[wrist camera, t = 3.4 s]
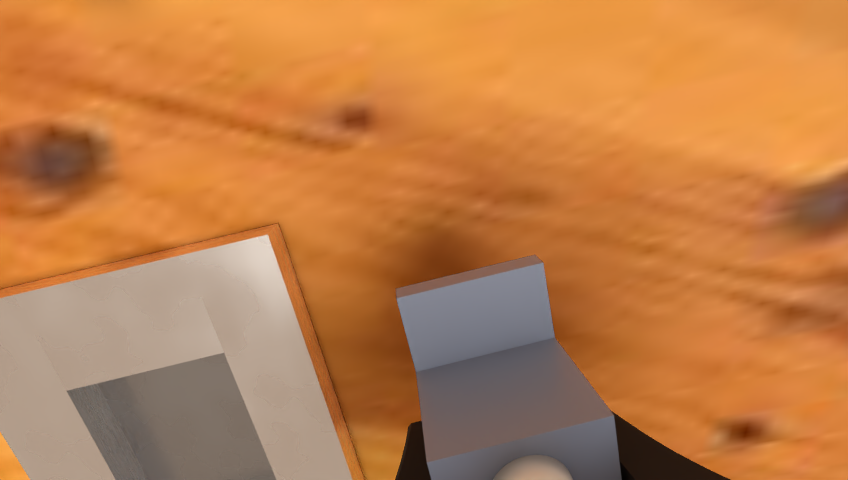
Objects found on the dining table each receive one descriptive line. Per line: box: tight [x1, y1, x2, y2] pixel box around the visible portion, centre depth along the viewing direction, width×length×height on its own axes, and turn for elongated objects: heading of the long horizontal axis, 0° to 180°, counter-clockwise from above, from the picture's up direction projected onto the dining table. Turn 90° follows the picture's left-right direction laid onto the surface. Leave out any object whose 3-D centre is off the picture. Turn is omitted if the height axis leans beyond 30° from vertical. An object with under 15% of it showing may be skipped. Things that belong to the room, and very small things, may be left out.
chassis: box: [0, 223, 364, 480], centre depth 18 cm, size 16×12×2 cm
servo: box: [396, 255, 622, 480], centre depth 11 cm, size 10×4×6 cm, turn 13°
